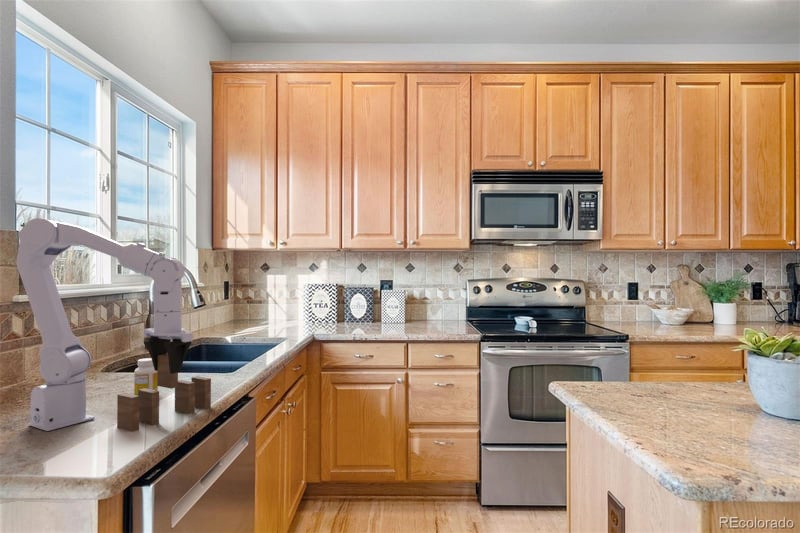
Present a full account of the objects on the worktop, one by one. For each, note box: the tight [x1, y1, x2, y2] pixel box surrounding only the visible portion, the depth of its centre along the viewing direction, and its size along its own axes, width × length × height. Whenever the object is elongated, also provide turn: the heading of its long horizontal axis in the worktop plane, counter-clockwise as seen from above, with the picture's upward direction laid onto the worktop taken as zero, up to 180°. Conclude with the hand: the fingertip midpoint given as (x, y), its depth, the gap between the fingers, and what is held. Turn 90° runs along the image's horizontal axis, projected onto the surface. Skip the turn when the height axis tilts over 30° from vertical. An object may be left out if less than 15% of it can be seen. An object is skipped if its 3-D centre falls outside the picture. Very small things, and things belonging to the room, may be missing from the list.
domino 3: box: [157, 354, 179, 390], centre depth 108 cm, size 2×5×7 cm, turn 61°
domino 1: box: [116, 392, 140, 433], centre depth 100 cm, size 2×5×7 cm, turn 61°
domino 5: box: [190, 375, 212, 410], centre depth 116 cm, size 2×5×7 cm, turn 61°
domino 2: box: [138, 388, 160, 426], centre depth 104 cm, size 2×5×7 cm, turn 61°
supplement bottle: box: [133, 357, 159, 396], centre depth 124 cm, size 5×5×10 cm
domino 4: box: [174, 379, 196, 415], centre depth 112 cm, size 2×5×7 cm, turn 61°
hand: (167, 371), depth 108 cm, fingers closed on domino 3, 5 cm apart
